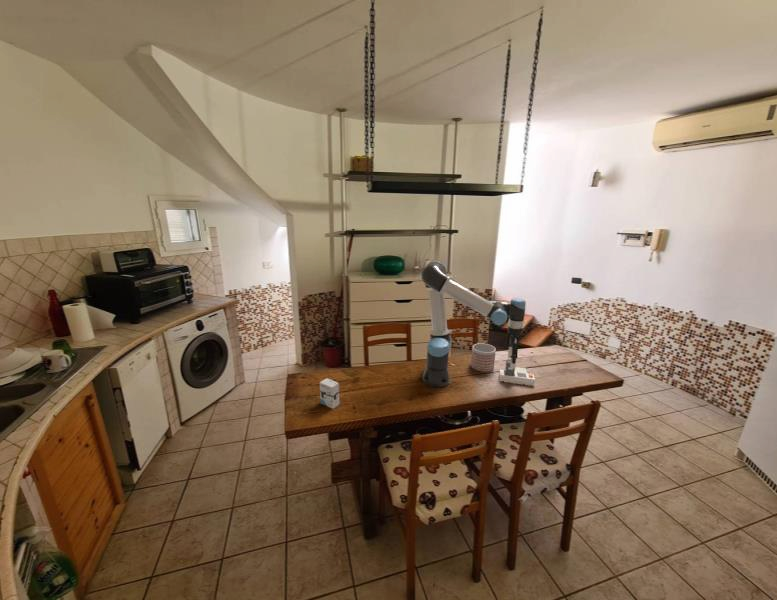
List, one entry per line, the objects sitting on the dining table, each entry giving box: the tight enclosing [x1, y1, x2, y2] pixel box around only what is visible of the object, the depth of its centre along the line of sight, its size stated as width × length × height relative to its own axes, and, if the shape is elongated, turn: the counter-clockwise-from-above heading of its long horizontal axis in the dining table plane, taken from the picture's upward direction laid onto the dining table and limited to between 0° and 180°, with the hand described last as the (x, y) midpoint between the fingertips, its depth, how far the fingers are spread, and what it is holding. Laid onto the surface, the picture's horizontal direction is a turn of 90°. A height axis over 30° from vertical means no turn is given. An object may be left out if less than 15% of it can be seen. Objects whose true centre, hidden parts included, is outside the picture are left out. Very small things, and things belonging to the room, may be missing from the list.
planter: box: [470, 342, 497, 373], centre depth 198 cm, size 14×14×13 cm
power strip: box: [498, 369, 536, 387], centre depth 183 cm, size 18×6×5 cm, turn 75°
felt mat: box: [515, 366, 528, 373], centre depth 194 cm, size 9×9×1 cm
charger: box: [504, 359, 515, 376], centre depth 183 cm, size 4×4×9 cm
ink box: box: [319, 378, 340, 410], centre depth 157 cm, size 8×5×12 cm, turn 56°
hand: (511, 362), depth 182 cm, fingers open, 13 cm apart
